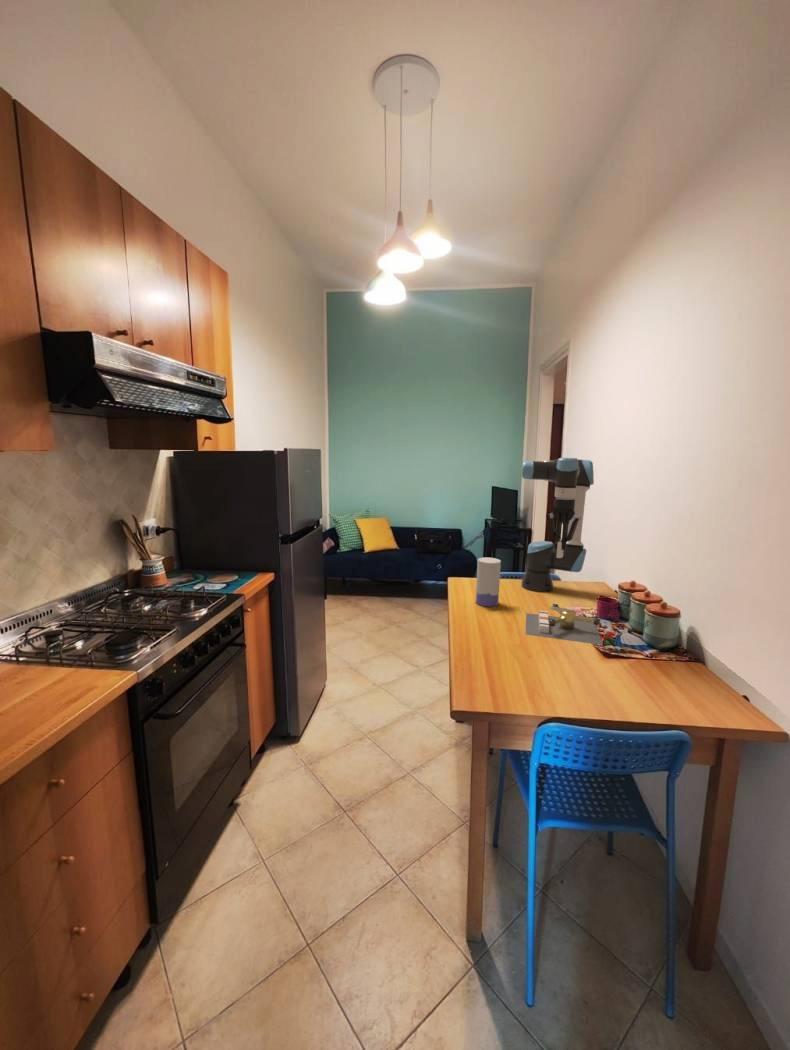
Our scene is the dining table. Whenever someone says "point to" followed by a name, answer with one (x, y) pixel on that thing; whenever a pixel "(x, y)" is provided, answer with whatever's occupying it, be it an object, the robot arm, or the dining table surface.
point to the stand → (561, 629)
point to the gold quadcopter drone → (569, 618)
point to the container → (488, 581)
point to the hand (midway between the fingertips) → (559, 557)
